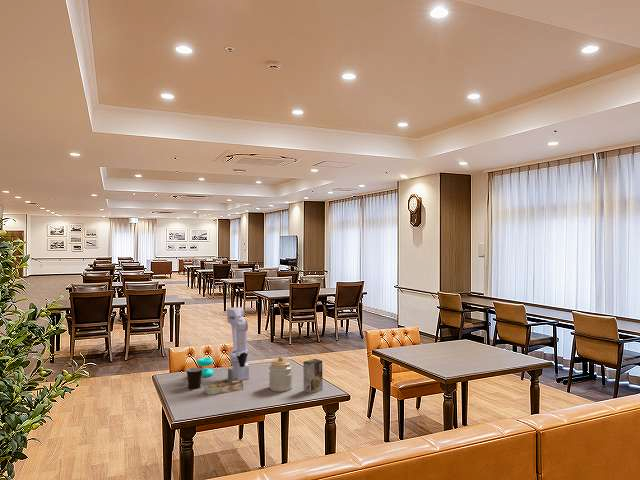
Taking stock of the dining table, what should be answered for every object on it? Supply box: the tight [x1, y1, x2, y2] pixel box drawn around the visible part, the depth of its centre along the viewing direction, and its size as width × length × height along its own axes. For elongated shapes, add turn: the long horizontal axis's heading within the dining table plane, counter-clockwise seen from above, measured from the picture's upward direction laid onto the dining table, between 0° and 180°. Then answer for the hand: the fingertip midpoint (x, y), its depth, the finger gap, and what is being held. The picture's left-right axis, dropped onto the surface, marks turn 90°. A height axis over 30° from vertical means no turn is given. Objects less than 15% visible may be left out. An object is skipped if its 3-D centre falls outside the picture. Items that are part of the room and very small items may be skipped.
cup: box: [204, 383, 222, 396], centre depth 249 cm, size 6×7×3 cm
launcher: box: [215, 378, 244, 394], centre depth 255 cm, size 12×9×4 cm
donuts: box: [196, 357, 214, 378], centre depth 281 cm, size 10×10×10 cm
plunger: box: [224, 368, 234, 383], centre depth 255 cm, size 3×5×7 cm, turn 34°
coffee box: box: [302, 358, 324, 394], centre depth 253 cm, size 9×6×16 cm
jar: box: [268, 356, 293, 393], centre depth 256 cm, size 13×13×18 cm
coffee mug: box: [186, 367, 203, 390], centre depth 259 cm, size 12×9×10 cm
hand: (242, 366), depth 262 cm, fingers closed
